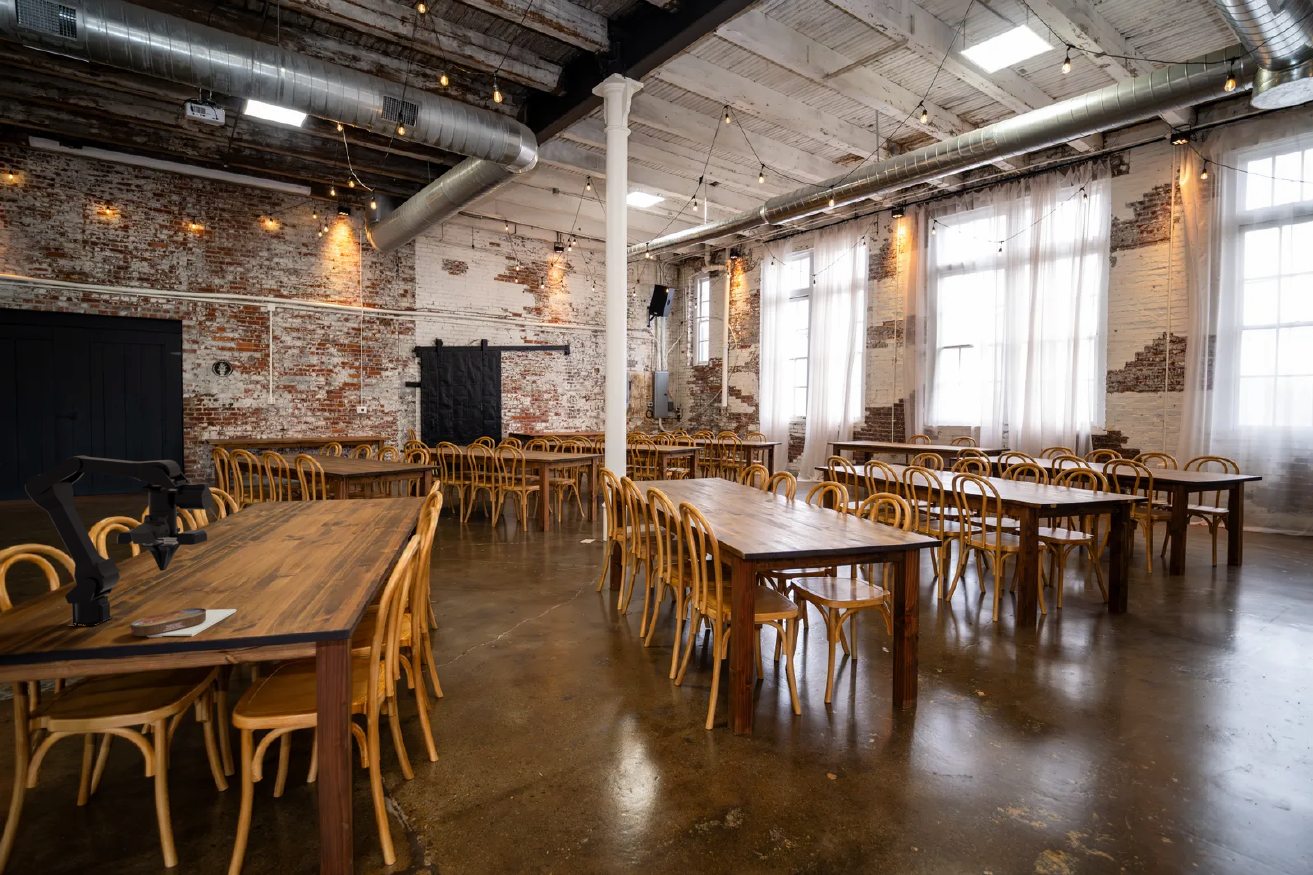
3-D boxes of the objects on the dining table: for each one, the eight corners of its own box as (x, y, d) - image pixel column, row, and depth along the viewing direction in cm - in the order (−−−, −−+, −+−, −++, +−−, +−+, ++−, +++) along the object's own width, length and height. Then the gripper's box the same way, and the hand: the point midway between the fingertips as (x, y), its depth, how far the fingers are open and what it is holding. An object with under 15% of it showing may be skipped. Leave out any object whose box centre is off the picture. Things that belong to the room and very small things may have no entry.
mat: (147, 637, 153) (147, 635, 153) (196, 612, 172) (196, 610, 172) (192, 636, 154) (191, 634, 154) (236, 611, 173) (236, 609, 173)
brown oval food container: (200, 605, 167) (210, 610, 161) (201, 618, 167) (211, 623, 161) (126, 620, 155) (134, 626, 150) (126, 633, 155) (135, 639, 150)
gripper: (99, 514, 156) (99, 578, 157) (179, 515, 157) (179, 579, 158) (133, 507, 167) (133, 566, 168) (208, 508, 168) (208, 567, 169)
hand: (163, 570), depth 165 cm, fingers closed
